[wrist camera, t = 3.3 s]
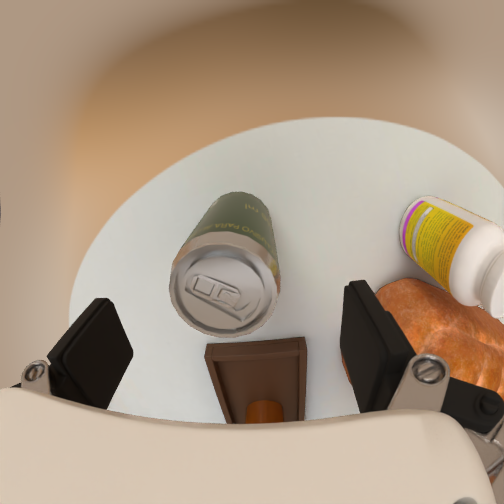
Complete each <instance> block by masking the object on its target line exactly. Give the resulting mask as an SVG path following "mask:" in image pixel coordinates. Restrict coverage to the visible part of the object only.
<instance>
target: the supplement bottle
mask: <svg viewBox="0 0 504 504" xmlns="http://www.w3.org/2000/svg"><path fill="white" fill-rule="evenodd" d="M399 235H400V242H401V245H402V248H403V250H404V251H405V253H406V254H407V255H408V256H409V257H410V258H411V259H412V260H414V261H415V262H416V263H417V264H418V265H419V266H420V267H422V268H423V269H424V270H425V271H426V272H427V273H428V274H429V275H431V276H432V277H433V278H434V279H435V280H436V281H437V282H438V283H439V284H440V285H441V286H443V287H444V288H445V289H446V290H447V291H448V292H449V293H450V294H451V295H452V296H453V297H454V298H455V299H456V300H457V301H458V302H459V303H461V304H463V305H465V306H477V305H480V304H482V306H483V308H484V309H485V310H486V311H487V312H488V313H489V314H490V315H491V316H492V317H493V318H496V319H498V318H502V317H504V230H503V229H502V228H501V227H500V226H498V225H497V224H495V223H493V222H491V221H489V220H487V219H485V218H483V217H481V216H479V215H476V214H474V213H472V212H470V211H468V210H466V209H463V208H461V207H459V206H456V205H454V204H452V203H450V202H447V201H445V200H442V199H440V198H437V197H434V196H424V197H421V198H419V199H417V200H415V201H414V202H413V203H412V204H411V205H410V206H409V207H408V208H407V210H406V211H405V213H404V215H403V217H402V220H401V224H400V230H399Z"/></svg>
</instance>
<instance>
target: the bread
mask: <svg viewBox="0 0 504 504" xmlns="http://www.w3.org/2000/svg"><path fill="white" fill-rule="evenodd" d="M375 296H376V297H377V299H378V300H379V302H380V303H381V305H382V306H383V308H384V310H385V311H389V312H390V313H391V314H392V315H393V317H394V318H395V320H396V322H397V323H398V325H399V326H400V328H401V329H402V331H403V333H404V334H405V336H406V337H407V339H408V341H409V342H410V344H411V346H412V347H413V349H414V351H415V352H416V354H417V355H419V354H424V353H429V354H435V355H437V356H440V357H441V358H443V359H444V360H445V361H446V362H447V364H448V365H449V368H450V377H453V378H456V379H459V380H462V381H465V382H468V383H471V384H474V385H477V386H480V387H484V388H487V389H490V390H493V391H495V392H497V393H498V394H499V395H500V396H501V397H502V399H503V401H504V325H503V324H502V323H501V322H500V321H499V320H498V319H496V318H493V317H492V316H491V315H490V314H489V313H487V312H486V311H485V310H484V309H481V308H479V307H477V306H465V305H463V304H461V303H459V302H458V301H457V300H456V299H455V298H454V297H453V296H452V295H451V294H450V293H448V292H446V291H444V290H442V289H439V288H437V287H434V286H432V285H430V284H427V283H425V282H423V281H420V280H418V279H411V278H404V279H401V280H398V281H395V282H392V283H389V284H387V285H385V286H384V287H382V288H380V289H379V291H378V292H377V293H376V295H375ZM341 355H342V352H341ZM342 363H343V366H344V368H345V371H346V374H347V377H348V380H349V382H350V383H351V380H350V377H349V374H348V371H347V367H346V364H345V361H344V358H343V355H342ZM351 385H352V384H351Z"/></svg>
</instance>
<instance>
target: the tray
mask: <svg viewBox="0 0 504 504" xmlns="http://www.w3.org/2000/svg"><path fill="white" fill-rule="evenodd" d="M204 357H205V361H206V364H207V367H208V370H209V373H210V376H211V380H212V383H213V386H214V389H215V391H216V394H217V397H218V400H219V403H220V406H221V409H222V412H223V414H224V417H225V420H226V422H227V424H245V411H246V407H247V406H248V405H249V404H251V403H253V402H256V401H261V400H270V401H275V402H278V403H279V404H281V405H282V406H283V408H284V419H285V422H295V421H304V416H305V397H306V372H307V347H306V342H305V337H299V338H289V339H279V340H267V341H254V342H239V343H217V344H207V346H206V351H205V355H204Z"/></svg>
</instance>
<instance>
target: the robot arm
mask: <svg viewBox="0 0 504 504" xmlns="http://www.w3.org/2000/svg"><path fill="white" fill-rule="evenodd" d="M340 348H341V352H342V355H343V358H344V361H345V364H346V367H347V371H348V374H349V377H350V380H351V384H352V387H353V390H354V393H355V397H356V400H357V404H358V407H359V411H360V414H353V415H345V416H339V417H332V418H324V419H316V420H306V421H295V422H282V423H264V424H214V423H195V422H182V421H172V420H163V419H155V418H148V417H142V416H136V415H130V414H124V413H119V412H114V411H109V410H107V408H108V406H109V403H110V401H111V399H112V397H113V395H114V393H115V391H116V389H117V387H118V385H119V383H120V381H121V379H122V377H123V375H124V373H125V371H126V369H127V367H128V365H129V363H130V361H131V359H132V357H133V349H132V347H131V344H130V342H129V340H128V338H127V336H126V333H125V331H124V329H123V326H122V324H121V321H120V319H119V316H118V314H117V311H116V309H115V306H114V304H113V302H111V301H110V300H109V299H108V298H96V299H94V301H93V302H92V303H91V304H90V305H89V306H88V307H87V308H86V309H85V311H84V312H83V313H82V314H81V315H80V316H79V317H78V319H77V320H76V321H75V322H74V323H73V324H72V326H71V327H70V328H69V329H68V330H67V331H66V333H65V334H64V335H63V336H62V337H61V339H60V340H59V341H58V342H57V344H56V345H55V346H54V347H53V349H52V350H51V351H50V352H49V354H48V355H47V358H48V359H49V361H50V362H51V365H50V366H49V365H48V364H47V362H46V361H43V360H37V361H34V362H32V363H30V364H29V365H28V366H27V367H26V368H25V369H24V371H23V373H22V378H21V383H19V384H17V385H14V386H12V387H10V388H3V389H0V504H504V401H503V399H502V397H501V396H500V395H499V394H498V393H497V392H495V391H493V390H490V389H487V388H484V387H480V386H477V385H474V384H471V383H468V382H465V381H462V380H459V379H456V378H453V377H450V368H449V365H448V364H447V362H446V361H445V360H444V359H443V358H441V357H440V356H437V355H435V354H429V353H424V354H419V355H417V354H416V352H415V351H414V349H413V347H412V346H411V344H410V342H409V341H408V339H407V337H406V336H405V334H404V333H403V331H402V329H401V328H400V326H399V325H398V323H397V322H396V320H395V318H394V317H393V315H392V314H391V313H390V312H389V311H385V310H384V308H383V306H382V305H381V303H380V302H379V300H378V299H377V297H376V296H375V294H374V293H373V291H372V290H371V288H370V287H369V285H368V284H367V282H366V281H365V280H358V281H350V282H349V286H345V288H344V301H343V314H342V325H341V335H340Z"/></svg>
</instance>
